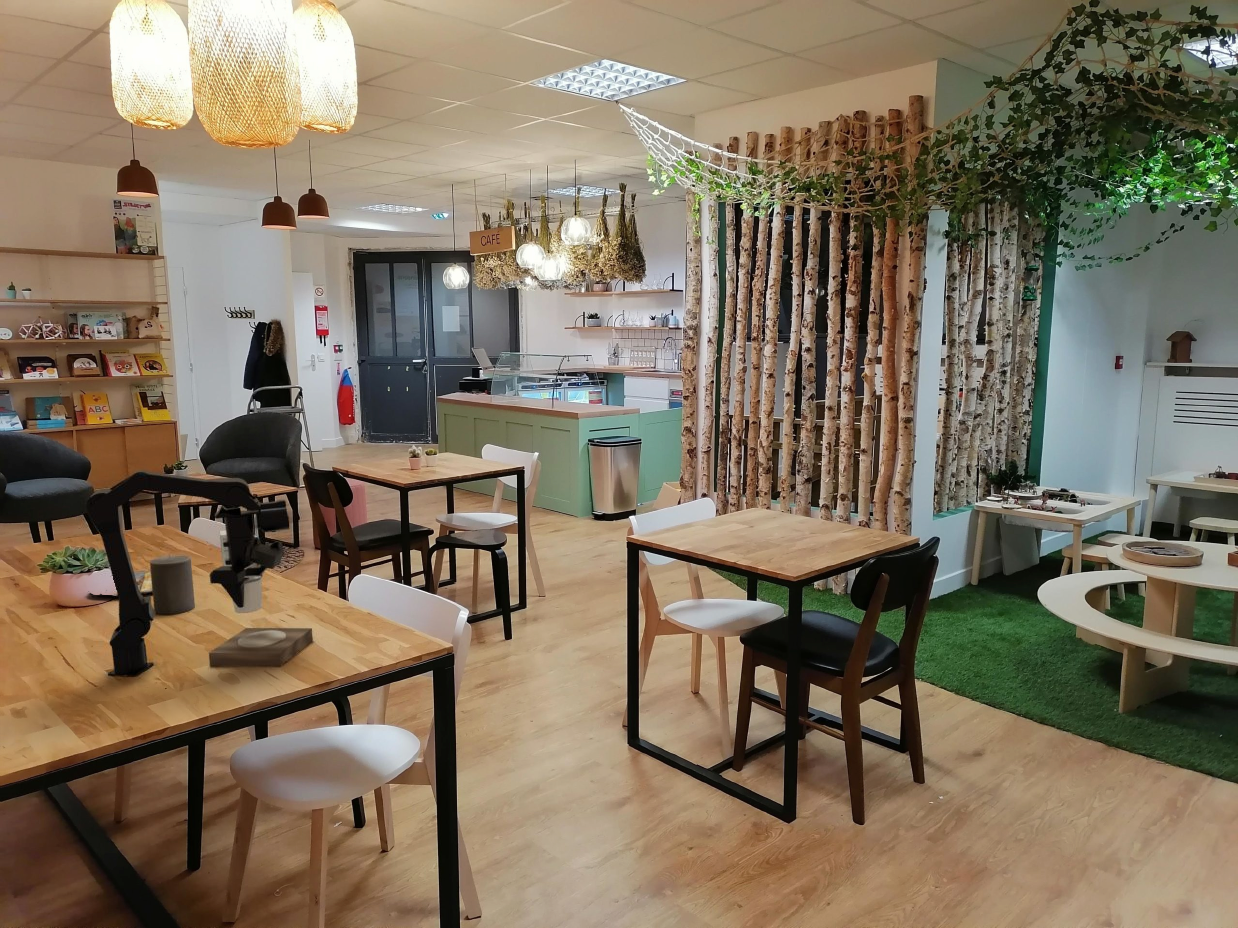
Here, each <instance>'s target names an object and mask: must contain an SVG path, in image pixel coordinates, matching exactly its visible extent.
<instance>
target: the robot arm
mask: <svg viewBox="0 0 1238 928" xmlns="http://www.w3.org/2000/svg"><path fill="white" fill-rule="evenodd" d="M143 491H148V492H154V493H155V492H156V493H164V494H172V495H180V496H187V497H189V496H190V497H195V498H201V499H205V500H209V501H211V502H215V503H217V504H220V505H221V506H220V508H219V509H218V510H217V511H216V512H215V514H214V518H215V519H224V526H225V530H226V536H227V541H225V542H223V546H224V547H228V554H229V559H227V560H225V564H226V565H232V566H223V565H221V566H218V567H217V568H215V569H213V570H212V571H211V572H210V574H209V582H210V584H211V585H212V584H217V585H218V584H219V585H220V586H222V588H223V589H224V590H225V591H226V593H227V594H228V596H229V597H230V598H231V600H232V602H233V601H234V602H235V604H236V605H237V607H238V608H242V607H243V606H244V584H245V583H246V582H247V580H248V579H249V578H245V576H252V575H256V576H261V577H262V578H263V574H264V573H265V571H267V570H268V569H275V568H276V567H277V566H279V565H281V562H282V558H283V557H284V556H285V555H286V553H285V549H284V546H283V542H281V541H278V540H275V541H274V542H272V543H271V544H262V543H261V539H260V538H259V536H256V535H255V527H254V518H253V515H255V521H256V528H257V529H260V531H262V533H269V532H270V533H272V532H279V531H287V530H290V518H289V517H290V516H289V514H288V509H287V503H286V500H285V499H278V500H276V501H275V500H274V501H268V502H267V501H266V502H260V501H259V500H258V498H257V497H255V496H254V495H253V494H252V493H251V487H250V486H249V484H248V483H247V482H246V480H244V479H243V478H240V477H222V478H209V479H207V478H206V479H205V478H197V477H190V476H184V475H176V474H168V473H161V472H160V473H159V472H154V471H149V470H146V469H138V470H135V472H133V474H132V475H130V476H128V477H126V478H125V479H124V480H122V481H119V482H118V483H116V484H115V485H114V486H112V487H110V488H101V489H97V491H95V492H94V493H93V494H91V495H90V496H89V498H88V499H87V501H86V504H85V510H86V513H87V515H88V516H89V517H88V518H89V519H90V521H91V522H92V525H93V526H94V527H95V529H96V531H97V532H98V533H99V535H100V537H101V539H102V543H103V547H104V551H105V553H106V558H107V562H108V564H109V569H110V572H111V576H113V580H114V583H115V587H116V590H117V594H118V596H117V597H118V620H119V621H118V622H119V623H118V624H119V625H118V626H116V627H115V629H113V632H112V635H111V637H110V640H109V645H110V647H111V655H112V662H113V663H112V665H113V670H111V671H109V672H107V676H108V677H109V676H111V677H112V676H113V677H114V676H117V677H118V676H119V677H121V676H122V677H126V676H127V677H128V676H129V677H131V676H132V677H134V676H135V677H136V676H138V675H140V674H141V673H143V672H145V671H147V670H148V669H150V668H151V667H152V666H154V664H155V663H154V661H153V662H148V654H147V647H146V645H147V644H146V643H145V638H144V637H145V636H146V635H148V633H149V632H150V630H151V626H152V623H153V621H154V618H155V616H156V613H155V610H154V606H153V605H152V596H151V595H148V596H145V597H144V595H143V594H141V593H140V591H139V589H138V585H137V582H136V578H135V574H134V572H135V571H134V567H133V564H132V560H131V555H130V554H129V549H128V546H127V541H126V538H125V535H124V532H123V507H122V505H124V504H126V503H127V502H129V500H132V498H134V497H135V496H137V495H138V494H140V493H141V492H143ZM224 505H225V506H227V507H231V508H226V507H225V506H224ZM241 507H242V508H243V509H245V510H241V509H242V508H241Z"/></svg>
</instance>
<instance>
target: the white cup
mask: <svg viewBox="0 0 1238 928" xmlns="http://www.w3.org/2000/svg"><path fill="white" fill-rule="evenodd" d="M245 578H249V579H248V580H247V582H246V583H245V584H244V606H243V607H242V608H238V607H237V605H236V604H235V602H234V601H233V600H232V603H233V608H234V613H236V614H249V613H254V612H258V611H260V610H261V609H263V606H262V605H263V601H262V600H263V599H262V598H263V594H262V593H263V592H262V591H263V590H262V580H263V576H262V577H261V576H256V575H252V576H245Z"/></svg>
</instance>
